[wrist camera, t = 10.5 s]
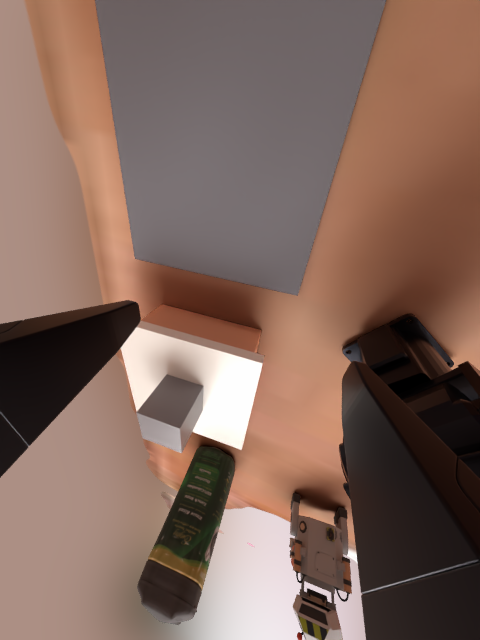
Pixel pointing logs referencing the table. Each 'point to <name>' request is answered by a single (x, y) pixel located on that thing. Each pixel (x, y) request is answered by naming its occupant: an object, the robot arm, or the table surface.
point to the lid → (190, 386)
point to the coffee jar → (187, 539)
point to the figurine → (319, 571)
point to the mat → (232, 126)
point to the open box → (205, 327)
